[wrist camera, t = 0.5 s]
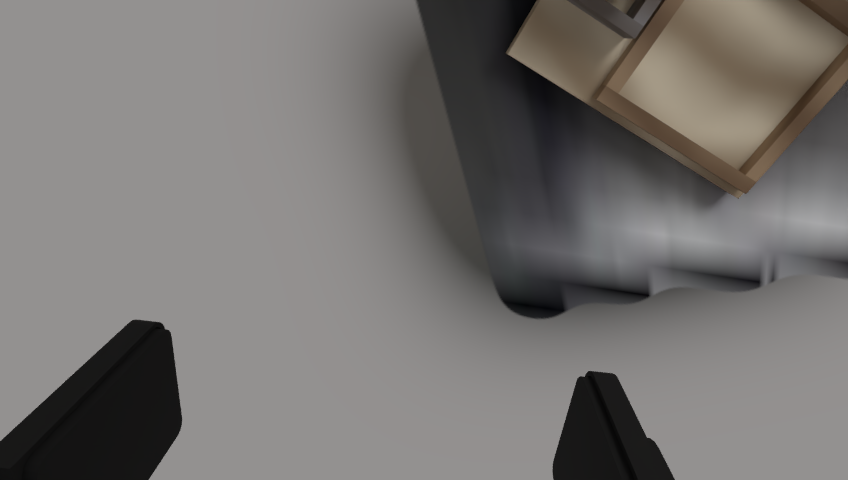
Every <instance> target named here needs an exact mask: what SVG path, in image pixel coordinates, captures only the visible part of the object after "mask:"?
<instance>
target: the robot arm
mask: <svg viewBox="0 0 848 480" xmlns="http://www.w3.org/2000/svg"><path fill="white" fill-rule="evenodd" d="M181 425H182V415H181V407H180V399H179V392H178V384H177V376H176V368H175V360H174V353H173V345H172V337H171V333H170V331H169V330H165V328H164V326H163V324H162V323H160V322H152V321H143V320H132V321H131V322H130V323H128V324H127V325H126V326H125V327H124V328H123V329H122V330H121V331H120V332H119V333H117V334H116V335H115V336H114V337H113V338H112V339H111V340H110V341H109V342H108V343H107V344H106V345H105V346H103V347H102V348H101V349H100V350H99V351H98V352H97V353H96V354H95V355H94V356H93V357H91V358H90V359H89V360H88V361H87V362H86V363H85V364H84V365H83V366H82V367H81V368H79V370H77V371H76V372H75V373H74V374H73V375H72V376H71V377H70V378H69V379H67V380H66V381H65V382H64V383H63V384H62V385H61V386H60V387H59V388H58V389H57V390H56V391H55V392H53V393H52V394H51V395H50V396H49V397H48V398H47V399H46V400H45V401H44V402H43V403H41V404H40V405H39V406H38V407H37V408H36V409H35V410H34V411H33V412H32V413H31V414H30V415H28V416H27V417H26V418H25V419H24V420H23V421H22V422H21V423H20V424H19V425H18V426H17V427H15V428H14V429H13V430H12V431H11V432H10V433H9V434H8V435H7V436H6V437H4V438H3V439H2V441H0V480H149V478H150V477H151V475H152V474H153V472H154V471H155V469H156V468H157V466H158V464H159V463H160V462H161V460H162V459H163V457H164V455H165V454H166V452H167V451H168V449H169V448H170V446H171V445H172V443H173V442H174V440H175V439H176V437H177V436H178V434H179V431H180V429H181ZM553 479H554V480H675V479H674V478H673V475H672V473H671V471H670V469H669V467H668V465H667V463H666V461H665V460H664V458H663V456H662V454H661V452H660V450H659V448H658V447H657V445H656V443H655V442H654V441H653V440H651V439H650V438H647V437H646V435H645V433H644V431H643V429H642V427H641V425H640V423H639V421H638V419H637V417H636V415H635V412H634V410H633V408H632V406H631V404H630V402H629V400H628V398H627V396H626V394H625V392H624V390H623V388H622V386H621V384H620V382H619V380H618V378H617V376H616V375H615V374H612V373H603V372H594V371H588V372H587V373H586V375H585V377H579V378H578V379H577V382H576V385H575V389H574V392H573V396H572V399H571V403H570V406H569V409H568V413H567V416H566V420H565V423H564V427H563V430H562V434H561V437H560V440H559V444H558V447H557V451H556V454H555V458H554V461H553Z"/></svg>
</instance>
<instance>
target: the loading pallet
mask: <svg viewBox="0 0 848 480" xmlns="http://www.w3.org/2000/svg"><path fill="white" fill-rule="evenodd" d="M506 54H508V55H509V56H511V57H513V58H514V59H516V60H517V61H519V62H521V63H522V64H524V65H525V66H527V67H528V68H530V69H532V70H533V71H535V72H536V73H538V74H540V75H541V76H543V77H544V78H546V79H548V80H549V81H551V82H552V83H554V84H556V85H557V86H559V87H560V88H562V89H564V90H565V91H567V92H568V93H570V94H571V95H573V96H575V97H576V98H578V99H579V100H581V101H583V102H584V103H586V104H587V105H589V106H591V107H592V108H594V109H595V110H597V111H599V112H600V113H602V114H603V115H605V116H607V117H608V118H610V119H611V120H613V121H615V122H616V123H618V124H619V125H621V126H622V127H624V128H626V129H627V130H629V131H630V132H632V133H634V134H635V135H637V136H638V137H640V138H642V139H643V140H645V141H646V142H648V143H650V144H651V145H653V146H654V147H656V148H658V149H659V150H661V151H662V152H664V153H666V154H667V155H669V156H670V157H672V158H673V159H675V160H677V161H678V162H680V163H681V164H683V165H685V166H686V167H688V168H689V169H691V170H693V171H694V172H696V173H697V174H699V175H701V176H702V177H704V178H705V179H707V180H709V181H710V182H712V183H713V184H715V185H717V186H718V187H720V188H721V189H723V190H724V191H726V192H728V193H729V194H731V195H733V196H735V197H736V198H738V199H739V197H740V196H741V195H742V194H743V193H745V194H746V193H747V192H748V191H749V190H750V189H751V188H752V187H753V186H754V184H755V183H756V182H757V181H758V180H759V179H760V178H761V177H762V175H763V174H764V173H765V172H766V171H767V170H768V169H769V168H770V166H771V165H772V164H773V163H774V162H775V161H776V160H777V159H778V157H779V156H780V155H781V154H782V153H783V152H784V151H785V150H786V148H787V147H788V146H789V145H790V144H791V143H792V142H793V141H794V139H795V138H796V137H797V136H798V135H799V134H800V133H801V132H802V130H803V129H804V128H805V127H806V126H807V125H808V124H809V123H810V122H811V120H812V119H813V118H814V117H815V116H816V115H817V114H818V113H819V111H820V110H821V109H822V108H823V107H824V106H825V105H826V104H827V102H828V101H829V100H830V99H831V98H832V97H833V96H834V95H835V93H836V92H837V91H838V90H839V89H840V88H841V87H842V86H843V84H844V83H845V82H846V81H847V80H848V0H537V1H536V3H535V4H534V6H533V8H532V9H531V11H530V13H529V14H528V16H527V18H526V19H525V21H524V23H523V24H522V26H521V28H520V29H519V31H518V33H517V35H516V36H515V38H514V40H513V41H512V43H511V45H510V46H509V48H508V50H507V51H506Z"/></svg>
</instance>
